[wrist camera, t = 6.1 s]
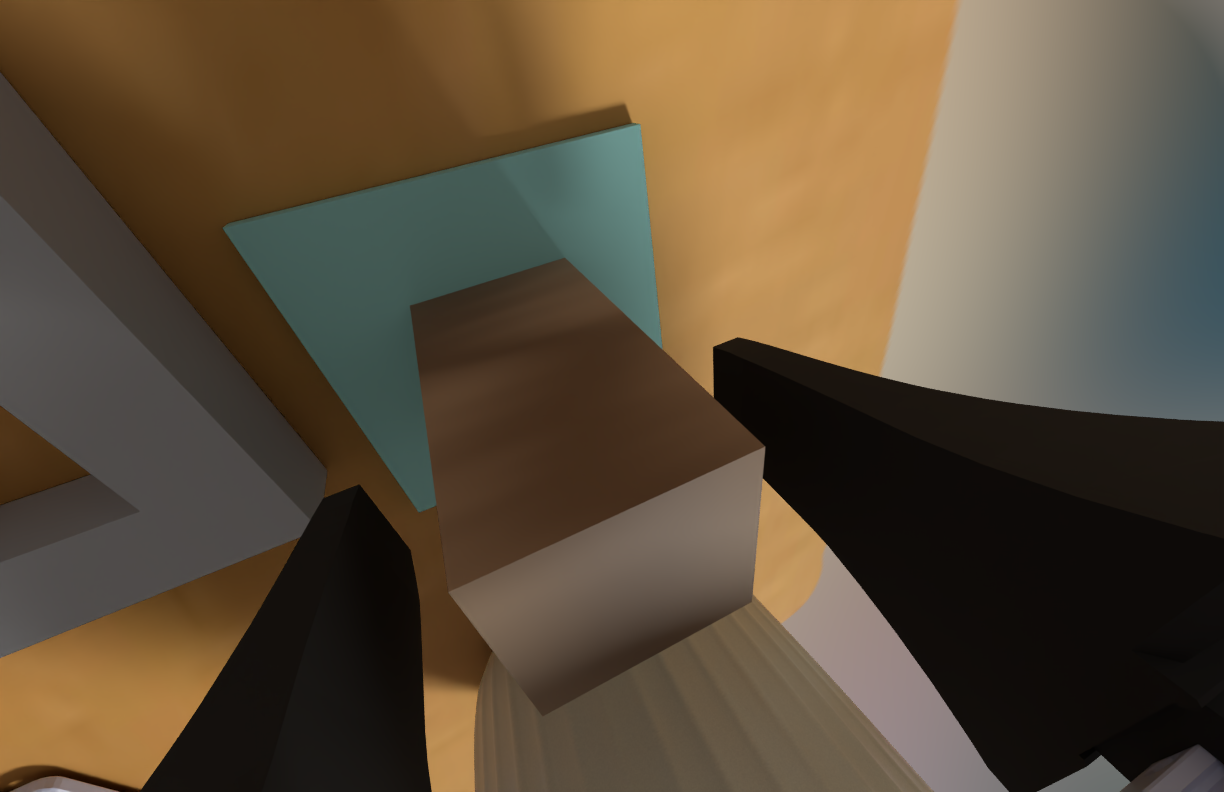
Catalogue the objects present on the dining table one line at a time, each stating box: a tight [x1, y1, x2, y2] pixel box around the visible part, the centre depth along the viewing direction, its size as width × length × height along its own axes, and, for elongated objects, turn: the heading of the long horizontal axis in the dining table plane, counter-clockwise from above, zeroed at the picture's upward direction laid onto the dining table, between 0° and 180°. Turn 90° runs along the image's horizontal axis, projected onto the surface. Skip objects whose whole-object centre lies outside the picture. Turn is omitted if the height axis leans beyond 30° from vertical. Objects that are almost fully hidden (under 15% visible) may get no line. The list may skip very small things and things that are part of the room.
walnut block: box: [410, 258, 765, 716], centre depth 9 cm, size 4×4×8 cm
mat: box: [223, 123, 663, 513], centre depth 13 cm, size 9×9×1 cm
